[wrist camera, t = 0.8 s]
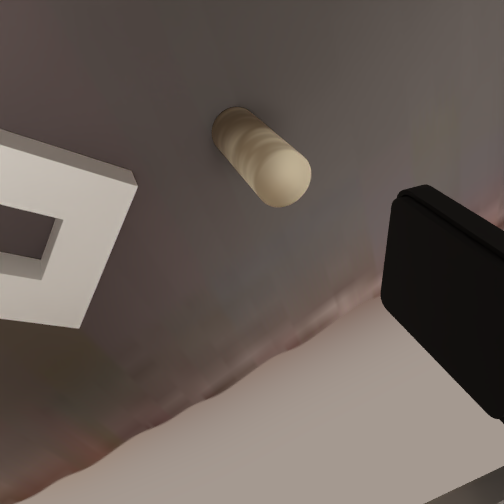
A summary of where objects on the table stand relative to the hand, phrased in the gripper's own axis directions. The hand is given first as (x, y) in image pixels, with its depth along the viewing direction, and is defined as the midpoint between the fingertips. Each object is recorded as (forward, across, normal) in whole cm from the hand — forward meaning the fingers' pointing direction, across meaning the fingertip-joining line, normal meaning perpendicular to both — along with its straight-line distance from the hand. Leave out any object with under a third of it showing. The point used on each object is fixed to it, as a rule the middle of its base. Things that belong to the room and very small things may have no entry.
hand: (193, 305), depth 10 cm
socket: (+29, +8, +12) cm, 33 cm away
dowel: (+29, -11, +8) cm, 32 cm away
